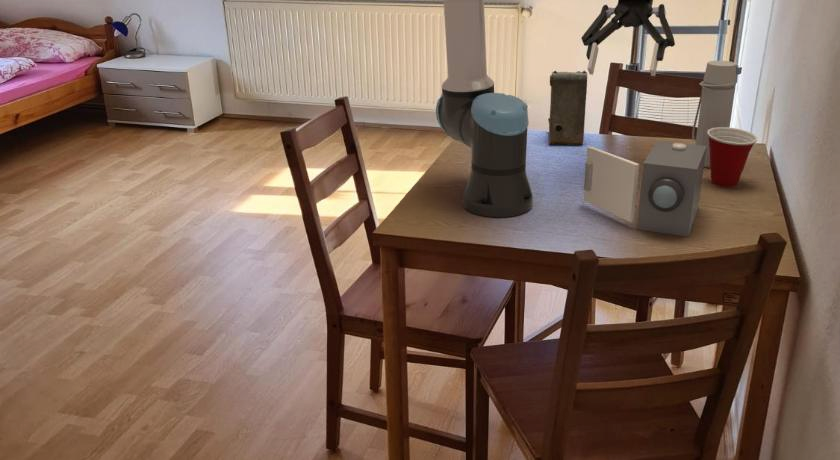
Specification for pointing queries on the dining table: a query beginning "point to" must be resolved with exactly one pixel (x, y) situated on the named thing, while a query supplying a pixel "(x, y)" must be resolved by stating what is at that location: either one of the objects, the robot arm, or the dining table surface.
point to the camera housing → (670, 188)
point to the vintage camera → (567, 108)
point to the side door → (611, 183)
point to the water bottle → (714, 101)
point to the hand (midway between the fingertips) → (620, 72)
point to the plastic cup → (728, 154)
